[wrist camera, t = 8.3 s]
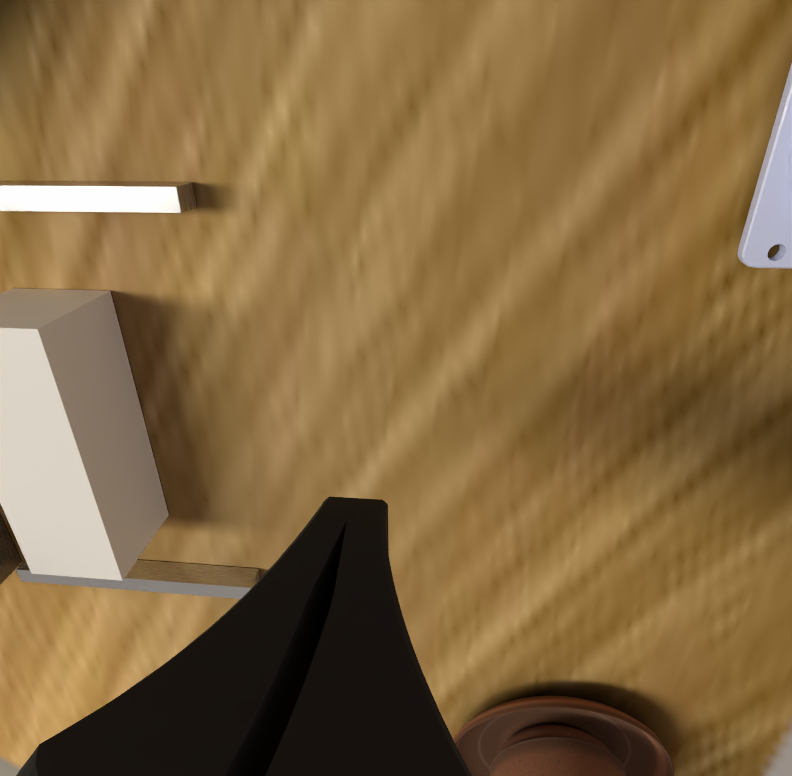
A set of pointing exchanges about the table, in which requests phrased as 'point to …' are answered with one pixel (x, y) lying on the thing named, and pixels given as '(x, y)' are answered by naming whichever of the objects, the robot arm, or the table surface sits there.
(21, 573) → the grey pronged frame
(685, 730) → the table surface
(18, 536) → the seated block
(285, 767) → the robot arm
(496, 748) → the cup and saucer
